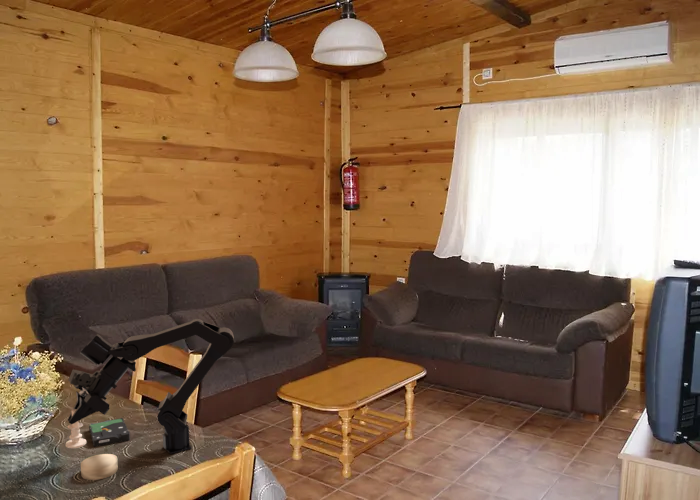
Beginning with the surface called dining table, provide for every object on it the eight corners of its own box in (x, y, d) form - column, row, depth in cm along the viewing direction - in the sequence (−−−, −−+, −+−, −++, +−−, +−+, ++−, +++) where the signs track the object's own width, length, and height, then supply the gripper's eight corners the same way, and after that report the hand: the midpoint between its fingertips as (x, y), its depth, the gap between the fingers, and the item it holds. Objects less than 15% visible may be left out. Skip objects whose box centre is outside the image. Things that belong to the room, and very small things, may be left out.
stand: (113, 461, 169) (112, 451, 168) (121, 473, 161) (121, 462, 161) (78, 470, 164) (77, 459, 163) (85, 483, 156) (84, 471, 156)
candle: (89, 439, 170) (87, 404, 169) (81, 448, 165) (80, 412, 164) (70, 439, 170) (68, 404, 169) (62, 448, 165) (60, 411, 163)
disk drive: (131, 442, 184) (123, 425, 196) (130, 433, 183) (122, 416, 196) (94, 449, 179) (88, 431, 191) (93, 440, 178) (88, 423, 191)
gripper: (80, 351, 175) (40, 396, 170) (93, 366, 159) (50, 416, 154) (110, 373, 180) (72, 418, 175) (126, 389, 165) (85, 439, 159)
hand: (69, 422), depth 166 cm, fingers closed on candle
